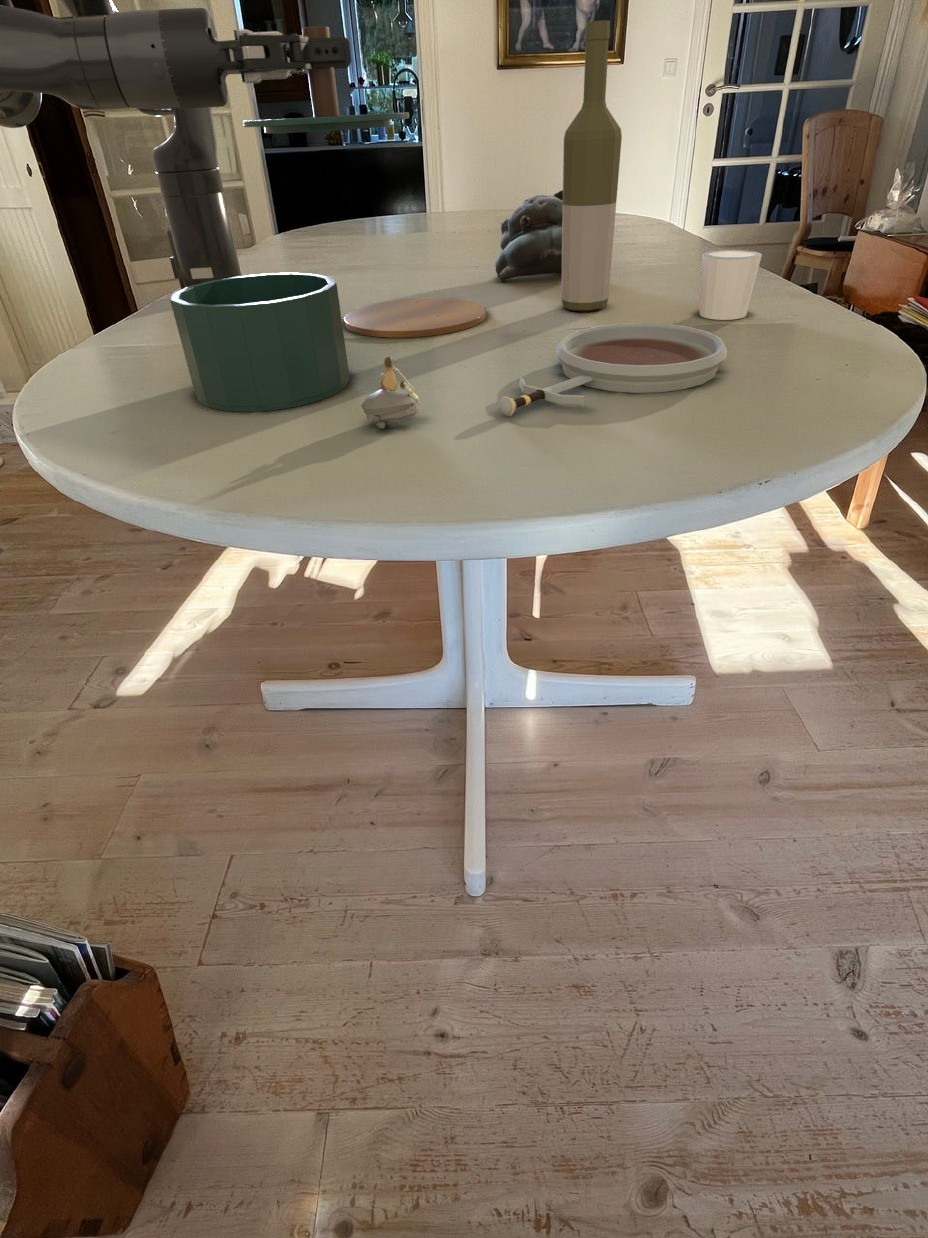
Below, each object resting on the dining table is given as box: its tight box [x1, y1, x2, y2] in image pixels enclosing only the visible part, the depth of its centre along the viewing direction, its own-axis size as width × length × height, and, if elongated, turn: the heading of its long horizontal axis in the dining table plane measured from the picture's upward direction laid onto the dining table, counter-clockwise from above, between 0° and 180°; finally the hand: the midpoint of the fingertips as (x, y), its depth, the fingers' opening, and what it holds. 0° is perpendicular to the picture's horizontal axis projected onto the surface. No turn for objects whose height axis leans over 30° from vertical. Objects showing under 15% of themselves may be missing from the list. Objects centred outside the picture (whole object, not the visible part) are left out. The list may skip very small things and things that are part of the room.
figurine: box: [360, 356, 422, 430], centre depth 62 cm, size 5×4×6 cm
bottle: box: [561, 20, 623, 312], centre depth 88 cm, size 7×7×30 cm
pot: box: [170, 272, 350, 413], centre depth 72 cm, size 16×16×10 cm
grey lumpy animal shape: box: [494, 189, 563, 282], centre depth 113 cm, size 15×12×14 cm
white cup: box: [699, 249, 763, 321], centre depth 88 cm, size 7×7×7 cm
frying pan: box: [498, 322, 729, 417], centre depth 70 cm, size 17×3×28 cm
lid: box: [242, 25, 410, 134], centre depth 71 cm, size 17×17×8 cm
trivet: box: [343, 297, 487, 339], centre depth 96 cm, size 19×19×1 cm
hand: (348, 52), depth 70 cm, fingers closed on lid, 2 cm apart
